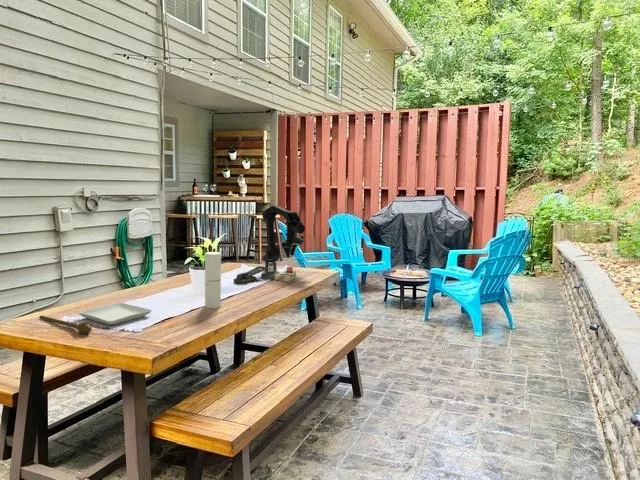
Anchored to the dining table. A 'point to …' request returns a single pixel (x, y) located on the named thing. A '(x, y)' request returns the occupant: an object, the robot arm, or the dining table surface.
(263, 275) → the socket block
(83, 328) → the ball ended rod
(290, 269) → the release button
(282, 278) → the rack
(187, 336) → the dining table surface
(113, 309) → the salad plate
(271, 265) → the drill peg
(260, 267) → the dark grey stapler
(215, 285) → the cylindrical container
